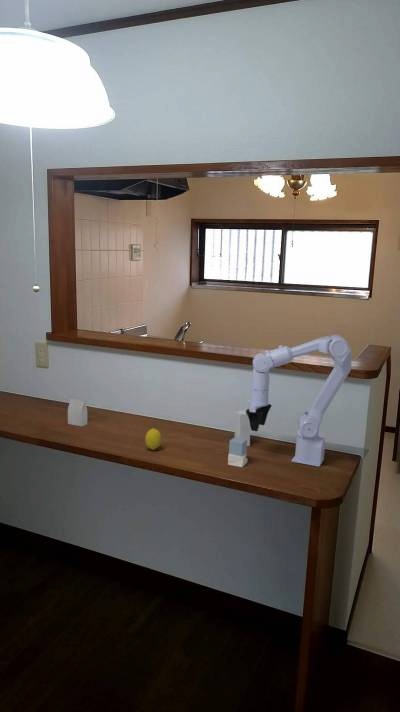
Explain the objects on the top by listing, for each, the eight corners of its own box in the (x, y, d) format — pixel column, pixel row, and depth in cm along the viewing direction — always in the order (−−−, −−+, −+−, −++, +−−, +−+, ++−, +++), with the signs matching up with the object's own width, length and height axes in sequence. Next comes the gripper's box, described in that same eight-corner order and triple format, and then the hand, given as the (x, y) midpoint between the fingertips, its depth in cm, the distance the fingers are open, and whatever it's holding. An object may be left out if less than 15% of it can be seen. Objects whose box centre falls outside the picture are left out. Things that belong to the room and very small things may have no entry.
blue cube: (246, 452, 171) (247, 439, 171) (241, 456, 167) (242, 443, 167) (234, 449, 173) (234, 437, 173) (228, 453, 169) (229, 440, 169)
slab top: (245, 457, 172) (246, 451, 172) (243, 462, 168) (243, 457, 167) (231, 455, 174) (231, 449, 173) (228, 460, 169) (228, 454, 168)
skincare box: (250, 446, 188) (252, 414, 186) (238, 446, 186) (240, 414, 184) (244, 440, 193) (246, 409, 191) (233, 441, 192) (234, 409, 190)
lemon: (146, 453, 177) (147, 431, 175) (144, 447, 182) (144, 426, 181) (162, 452, 178) (162, 430, 177) (159, 446, 184) (159, 425, 182)
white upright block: (81, 426, 204) (81, 402, 202) (67, 423, 206) (67, 399, 204) (87, 424, 207) (87, 399, 205) (73, 421, 210) (73, 397, 208)
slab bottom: (247, 463, 172) (247, 458, 172) (242, 468, 168) (242, 463, 167) (233, 460, 174) (233, 455, 174) (227, 465, 170) (228, 460, 169)
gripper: (255, 383, 181) (253, 420, 184) (241, 391, 168) (239, 431, 171) (274, 385, 179) (272, 423, 181) (262, 394, 165) (260, 435, 168)
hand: (257, 427), depth 176 cm, fingers open, 7 cm apart
